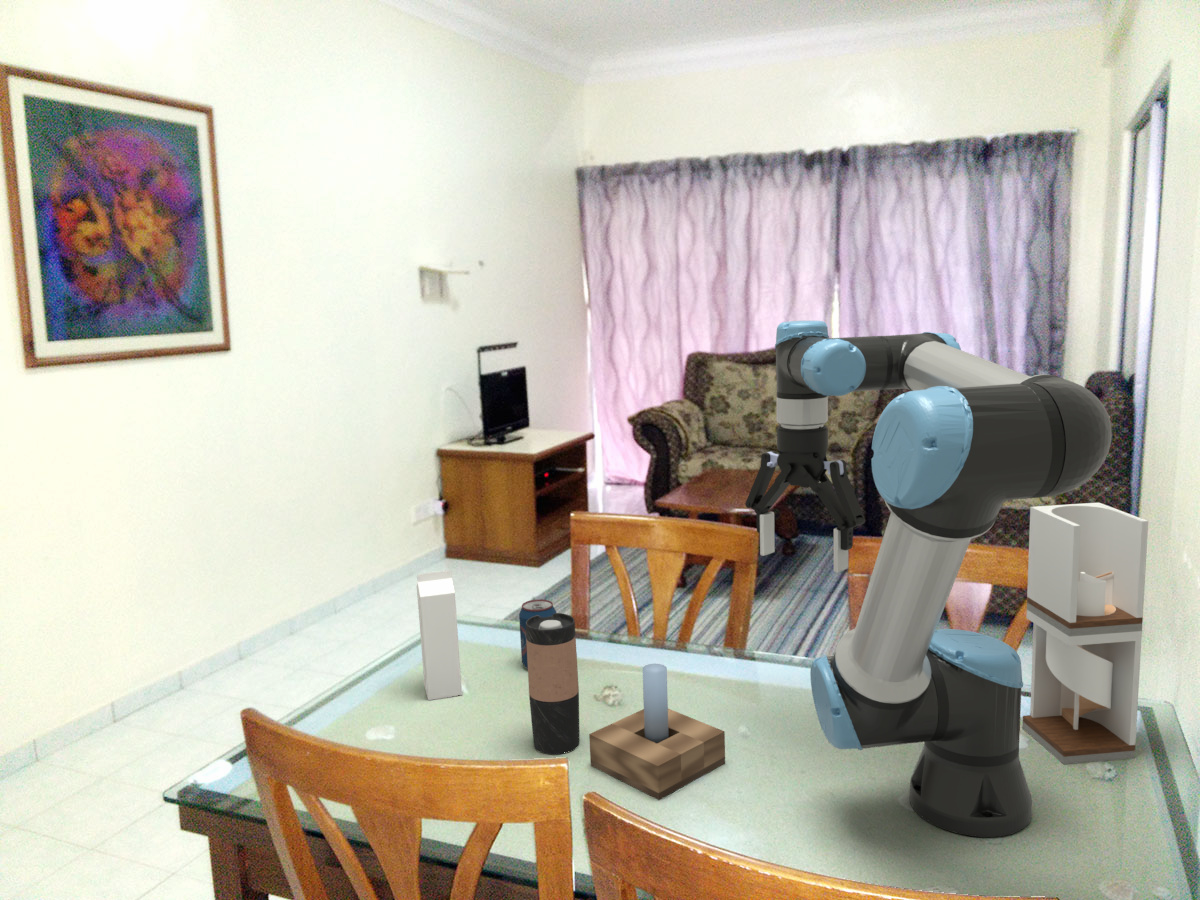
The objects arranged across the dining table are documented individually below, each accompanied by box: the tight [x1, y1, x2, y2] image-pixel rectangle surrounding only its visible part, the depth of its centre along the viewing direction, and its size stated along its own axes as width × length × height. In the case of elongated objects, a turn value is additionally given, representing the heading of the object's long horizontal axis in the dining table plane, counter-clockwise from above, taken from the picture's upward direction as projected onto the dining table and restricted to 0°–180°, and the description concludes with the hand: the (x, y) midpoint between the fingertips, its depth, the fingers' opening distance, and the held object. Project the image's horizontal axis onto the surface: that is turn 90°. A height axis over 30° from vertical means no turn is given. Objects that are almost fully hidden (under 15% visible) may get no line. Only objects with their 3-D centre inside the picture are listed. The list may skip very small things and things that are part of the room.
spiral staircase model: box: [1021, 502, 1149, 765], centre depth 142 cm, size 11×11×35 cm
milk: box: [416, 569, 463, 701], centre depth 171 cm, size 6×6×22 cm
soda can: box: [518, 599, 557, 670], centre depth 181 cm, size 7×7×12 cm
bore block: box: [588, 708, 726, 801], centre depth 143 cm, size 14×14×5 cm
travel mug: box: [526, 612, 580, 755], centre depth 150 cm, size 8×8×20 cm
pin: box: [642, 663, 669, 743], centre depth 142 cm, size 4×4×14 cm
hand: (803, 561), depth 150 cm, fingers open, 13 cm apart
